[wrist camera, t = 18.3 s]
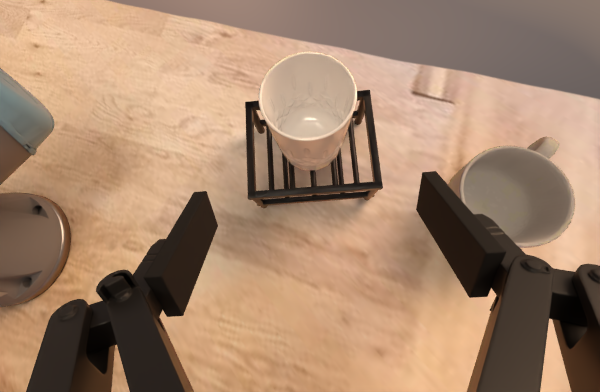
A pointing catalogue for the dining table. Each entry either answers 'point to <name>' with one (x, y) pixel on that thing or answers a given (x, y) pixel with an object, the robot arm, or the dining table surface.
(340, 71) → the white cup
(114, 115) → the dining table surface
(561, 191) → the teacup
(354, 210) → the dining table surface
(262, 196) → the wire rack
